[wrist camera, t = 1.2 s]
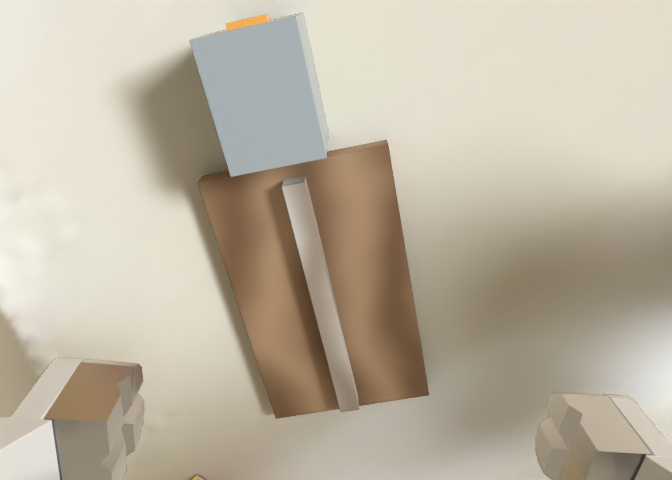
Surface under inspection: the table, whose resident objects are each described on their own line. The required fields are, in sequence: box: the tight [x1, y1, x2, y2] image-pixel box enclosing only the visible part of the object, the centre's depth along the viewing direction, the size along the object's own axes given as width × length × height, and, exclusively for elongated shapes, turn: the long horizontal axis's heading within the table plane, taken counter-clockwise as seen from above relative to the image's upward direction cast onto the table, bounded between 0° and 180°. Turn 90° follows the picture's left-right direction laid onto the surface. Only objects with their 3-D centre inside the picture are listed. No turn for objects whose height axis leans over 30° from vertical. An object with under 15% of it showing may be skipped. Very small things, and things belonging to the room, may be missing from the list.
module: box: [189, 12, 328, 177], centre depth 33 cm, size 6×8×7 cm
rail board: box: [198, 140, 429, 418], centre depth 42 cm, size 14×23×3 cm, turn 11°
